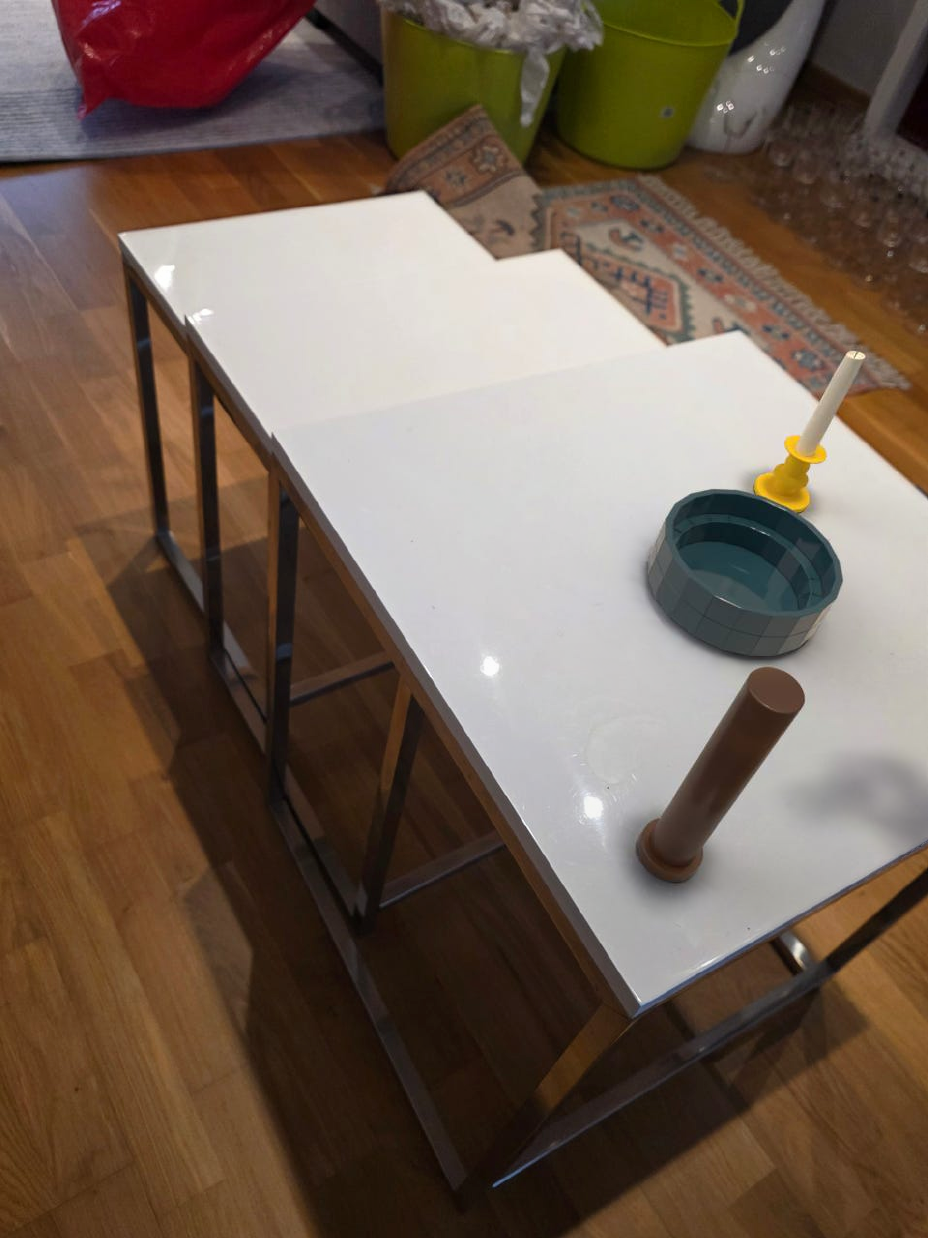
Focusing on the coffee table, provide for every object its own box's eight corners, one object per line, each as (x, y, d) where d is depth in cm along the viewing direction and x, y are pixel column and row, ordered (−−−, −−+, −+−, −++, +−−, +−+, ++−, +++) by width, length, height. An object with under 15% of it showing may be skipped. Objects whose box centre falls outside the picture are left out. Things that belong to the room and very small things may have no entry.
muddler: (709, 870, 61) (831, 709, 48) (659, 891, 59) (771, 730, 47) (674, 817, 63) (782, 651, 50) (624, 836, 61) (723, 669, 49)
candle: (744, 494, 88) (819, 345, 77) (765, 469, 91) (840, 323, 80) (796, 522, 86) (880, 375, 75) (815, 495, 90) (899, 350, 78)
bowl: (849, 635, 77) (879, 593, 74) (712, 679, 72) (738, 635, 68) (744, 520, 85) (766, 476, 82) (613, 551, 79) (631, 505, 76)
